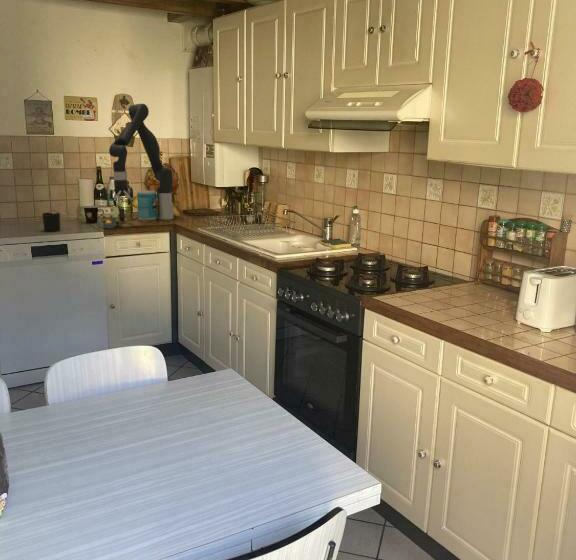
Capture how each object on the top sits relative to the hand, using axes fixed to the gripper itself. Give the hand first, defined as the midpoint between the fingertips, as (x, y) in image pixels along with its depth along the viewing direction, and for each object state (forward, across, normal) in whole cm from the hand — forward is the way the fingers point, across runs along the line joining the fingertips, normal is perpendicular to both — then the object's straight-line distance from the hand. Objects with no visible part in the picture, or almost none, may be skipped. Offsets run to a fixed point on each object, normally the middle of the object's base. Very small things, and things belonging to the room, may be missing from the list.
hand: (122, 205), depth 377 cm
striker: (+12, +2, 0) cm, 12 cm away
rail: (+12, -4, 0) cm, 13 cm away
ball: (+10, +9, 0) cm, 13 cm away
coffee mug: (+12, +12, -20) cm, 26 cm away
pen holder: (+12, +41, -5) cm, 43 cm away
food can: (+13, -23, -17) cm, 32 cm away
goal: (+12, +11, 0) cm, 16 cm away
